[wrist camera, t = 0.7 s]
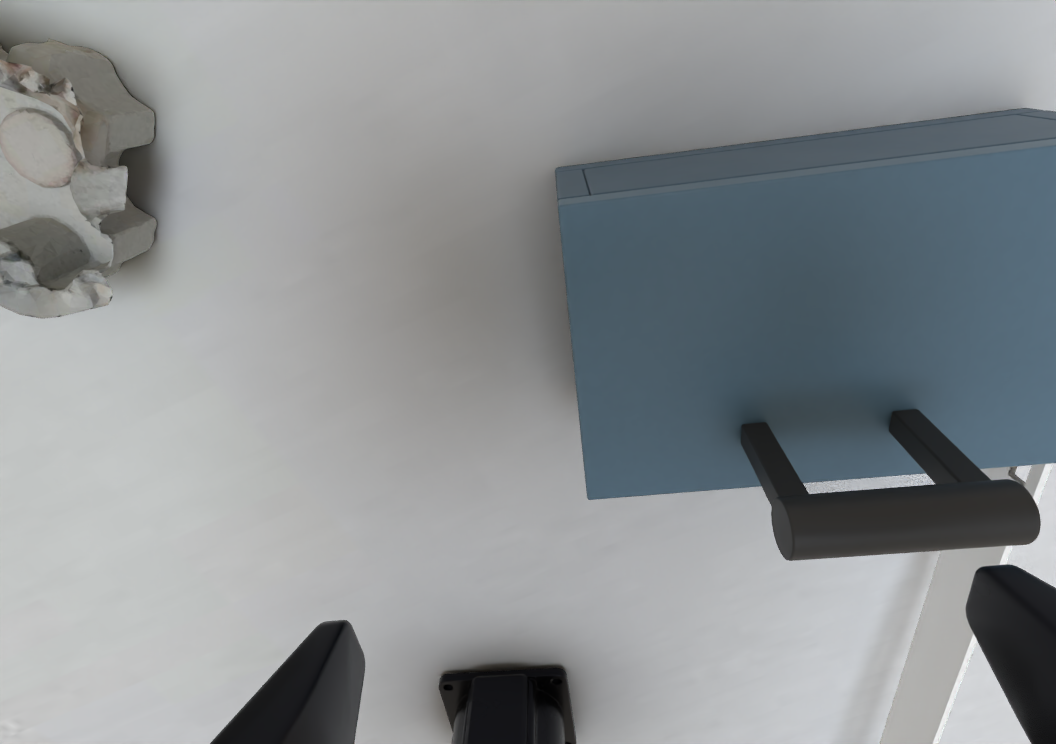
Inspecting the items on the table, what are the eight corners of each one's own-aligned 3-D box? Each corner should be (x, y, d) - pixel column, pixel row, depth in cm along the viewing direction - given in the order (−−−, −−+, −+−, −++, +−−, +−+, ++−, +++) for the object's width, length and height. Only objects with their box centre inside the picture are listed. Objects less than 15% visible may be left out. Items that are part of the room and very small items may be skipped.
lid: (1048, 448, 17) (1223, 587, 13) (586, 485, 18) (599, 625, 14) (1166, 124, 13) (1490, 163, 9) (557, 198, 14) (562, 268, 10)
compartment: (962, 356, 21) (1055, 425, 17) (577, 392, 22) (584, 464, 18) (1026, 107, 17) (1164, 124, 13) (555, 167, 18) (557, 198, 14)
